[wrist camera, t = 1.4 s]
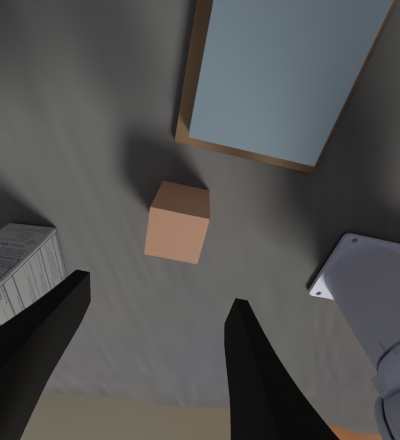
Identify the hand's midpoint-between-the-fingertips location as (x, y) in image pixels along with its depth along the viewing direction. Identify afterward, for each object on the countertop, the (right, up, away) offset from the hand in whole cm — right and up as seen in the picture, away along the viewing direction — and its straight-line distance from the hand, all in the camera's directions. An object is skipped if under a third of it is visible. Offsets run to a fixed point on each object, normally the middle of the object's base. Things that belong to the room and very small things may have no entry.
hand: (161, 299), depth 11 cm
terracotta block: (0, +5, +9) cm, 10 cm away
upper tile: (+7, +13, +3) cm, 15 cm away
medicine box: (-14, 0, +13) cm, 19 cm away
